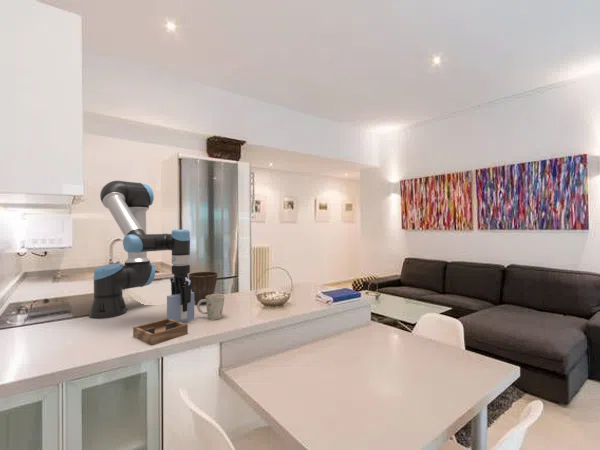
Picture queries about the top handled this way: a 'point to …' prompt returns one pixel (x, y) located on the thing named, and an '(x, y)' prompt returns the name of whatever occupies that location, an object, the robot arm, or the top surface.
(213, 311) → the mug
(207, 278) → the plant pot
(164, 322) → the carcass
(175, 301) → the door
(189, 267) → the robot arm
